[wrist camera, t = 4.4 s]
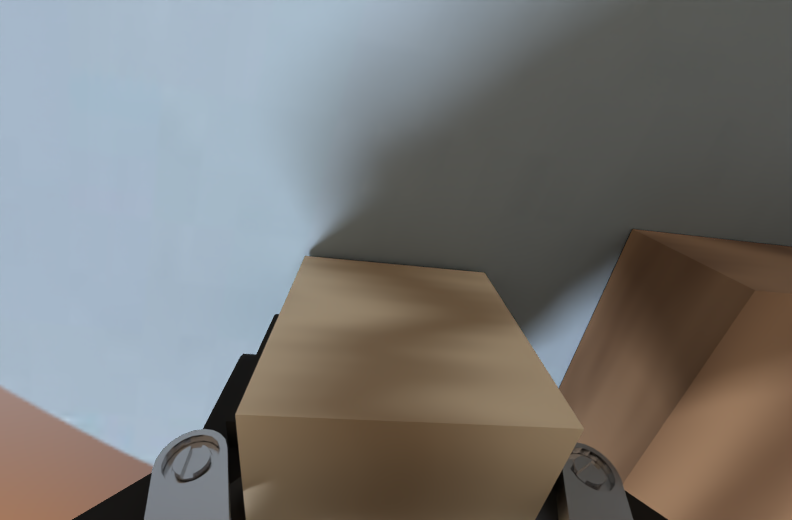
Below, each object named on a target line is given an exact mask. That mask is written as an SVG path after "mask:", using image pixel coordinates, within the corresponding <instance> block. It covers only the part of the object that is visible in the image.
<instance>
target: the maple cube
mask: <svg viewBox="0 0 792 520" xmlns="http://www.w3.org/2000/svg"><path fill="white" fill-rule="evenodd" d="M235 418H236V428H237V438H238V447H239V457H240V467H241V477H242V487H243V496H244V506H245V516H246V520H535V519H536V517H537V515H538V513H539V512H540V510H541V508H542V506H543V504H544V502H545V501H546V499H547V497H548V495H549V493H550V491H551V489H552V488H553V486H554V484H555V482H556V480H557V478H558V476H559V475H560V473H561V471H562V469H563V467H564V465H565V464H566V462H567V460H568V458H569V456H570V454H571V452H572V451H573V449H574V447H575V445H576V443H577V441H578V440H579V438H580V436H581V434H582V432H583V430H584V428H583V426H582V425H581V423H580V421H579V420H578V418H577V417H576V415H575V414H574V412H573V410H572V409H571V407H570V406H569V404H568V403H567V401H566V399H565V398H564V396H563V395H562V393H561V392H560V390H559V389H558V387H557V385H556V384H555V382H554V381H553V379H552V378H551V376H550V374H549V373H548V371H547V370H546V368H545V367H544V365H543V363H542V362H541V360H540V359H539V357H538V356H537V354H536V352H535V351H534V349H533V348H532V346H531V345H530V343H529V341H528V340H527V338H526V337H525V335H524V334H523V332H522V331H521V329H520V327H519V326H518V324H517V323H516V321H515V320H514V318H513V316H512V315H511V313H510V312H509V310H508V309H507V307H506V305H505V304H504V302H503V301H502V299H501V298H500V296H499V294H498V293H497V291H496V290H495V288H494V287H493V285H492V283H491V282H490V280H489V279H488V277H487V276H486V274H485V273H483V272H472V271H461V270H451V269H440V268H429V267H418V266H408V265H397V264H386V263H376V262H365V261H354V260H343V259H333V258H322V257H311V256H305V257H304V259H303V262H302V264H301V266H300V269H299V271H298V273H297V275H296V278H295V280H294V282H293V284H292V287H291V289H290V291H289V294H288V296H287V298H286V300H285V303H284V305H283V307H282V309H281V312H280V314H279V316H278V318H277V321H276V323H275V325H274V328H273V330H272V332H271V334H270V337H269V339H268V341H267V343H266V346H265V348H264V350H263V353H262V355H261V357H260V359H259V362H258V364H257V366H256V368H255V371H254V373H253V375H252V377H251V380H250V382H249V384H248V387H247V389H246V391H245V393H244V396H243V398H242V400H241V402H240V405H239V407H238V409H237V412H236V414H235Z"/></svg>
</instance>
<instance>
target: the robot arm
mask: <svg viewBox="0 0 792 520" xmlns="http://www.w3.org/2000/svg"><path fill="white" fill-rule="evenodd" d="M278 316H279V314H275V315H274V317H273V319H272V322H271V324H270V326H269V328H268V330H267V332H266V335H265V337H264V339H263V341H262V343H261V346H260V348H259V350H258V352H257V354H256V355H254V354H243V355H242V356H241V357H240V359H239V360H238V362H237V364H236V366H235V368H234V370H233V372H232V374H231V376H230V378H229V380H228V382H227V383H226V385H225V387H224V389H223V391H222V393H221V395H220V397H219V399H218V401H217V403H216V405H215V407H214V409H213V410H212V412H211V414H210V416H209V418H208V420H207V422H206V424H205V426H204V428H203V429H201V430H193V431H191V432H188V433H185V434H183V435H181V436H179V437H178V438H176V439H174V440H173V441H171V442H170V443H169V444H168V445H167V446H166V447H165V448H164V449H163V450H162V451H161V452H160V454H159V455H158V457H157V458H156V460H155V463H154V466H153V469H152V473H151V474H149V475H147V476H145V477H144V478H142V479H140V480H139V481H137V482H135V483H134V484H132V485H130V486H128V487H127V488H125V489H123V490H122V491H120V492H118V493H117V494H115V495H113V496H112V497H110V498H108V499H106V500H105V501H103V502H101V503H100V504H98V505H97V506H95V507H93V508H91V509H89V510H88V511H86V512H84V513H83V514H81V515H79V516H78V517H76V518H74V519H72V520H246V516H245V506H244V496H243V487H242V477H241V467H240V457H239V447H238V438H237V428H236V418H235V414H236V412H237V409H238V407H239V405H240V402H241V400H242V398H243V396H244V393H245V391H246V389H247V387H248V384H249V382H250V380H251V377H252V375H253V373H254V371H255V368H256V366H257V364H258V362H259V359H260V357H261V355H262V353H263V350H264V348H265V346H266V343H267V341H268V339H269V337H270V334H271V332H272V330H273V328H274V325H275V323H276V321H277V318H278ZM535 520H668V519H667V518H665V517H664V516H662V515H661V514H659V513H658V512H656V511H655V510H653V509H652V508H650V507H649V506H647V505H646V504H644V503H643V502H641V501H640V500H638V499H637V498H635V497H634V496H632V495H631V494H629V493H628V492H627V491H625V490H624V487H623V483H622V480H621V478H620V475H619V473H618V471H617V469H616V468H615V467H614V465H613V464H612V463H611V462H610V461H609V460H608V459H607V458H606V457H605V456H604V455H603V454H602V453H600V452H599V451H597V450H596V449H594V448H592V447H590V446H588V445H586V444H582V443H576V445H575V447H574V449H573V451H572V452H571V454H570V456H569V458H568V460H567V462H566V464H565V465H564V467H563V469H562V471H561V473H560V475H559V476H558V478H557V480H556V482H555V484H554V486H553V488H552V489H551V491H550V493H549V495H548V497H547V499H546V501H545V502H544V504H543V506H542V508H541V510H540V512H539V513H538V515H537V517H536V519H535Z"/></svg>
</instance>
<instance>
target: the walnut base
mask: <svg viewBox="0 0 792 520" xmlns="http://www.w3.org/2000/svg"><path fill="white" fill-rule="evenodd" d="M559 390H560V392H561V393H562V395H563V396H564V398H565V399H566V401H567V403H568V404H569V406H570V407H571V409H572V410H573V412H574V414H575V415H576V417H577V418H578V420H579V421H580V423H581V425H582V426H583V428H584V430H583V432H582V434H581V436H580V438H579V440H578V441H577V443H582V444H586V445H588V446H590V447H592V448H594V449H596V450H597V451H599V452H600V453H602V454H603V455H604V456H605V457H606V458H607V459H608V460H609V461H610V462H611V463H612V464H613V465H614V467H615V468H616V469H617V471H618V473H619V475H620V478H621V480H622V483H623V487H624V490H625V491H627V492H628V493H629V494H631V495H632V496H634V497H635V498H637V499H638V500H640V501H641V502H643V503H644V504H646V505H647V506H649V507H650V508H652V509H653V510H655V511H656V512H658V513H659V514H661V515H662V516H664V517H665V518H667V519H668V520H792V247H790V246H781V245H772V244H763V243H754V242H745V241H736V240H727V239H718V238H709V237H700V236H691V235H682V234H673V233H664V232H655V231H646V230H637V229H632V231H631V233H630V236H629V238H628V240H627V242H626V244H625V246H624V249H623V251H622V253H621V255H620V257H619V259H618V262H617V264H616V266H615V268H614V270H613V272H612V275H611V277H610V279H609V281H608V283H607V285H606V288H605V290H604V292H603V294H602V296H601V298H600V301H599V303H598V305H597V307H596V309H595V311H594V314H593V316H592V318H591V320H590V322H589V324H588V327H587V329H586V331H585V333H584V335H583V337H582V340H581V342H580V344H579V346H578V348H577V350H576V353H575V355H574V357H573V359H572V361H571V363H570V366H569V368H568V370H567V372H566V374H565V376H564V379H563V381H562V383H561V385H560V387H559Z"/></svg>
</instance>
